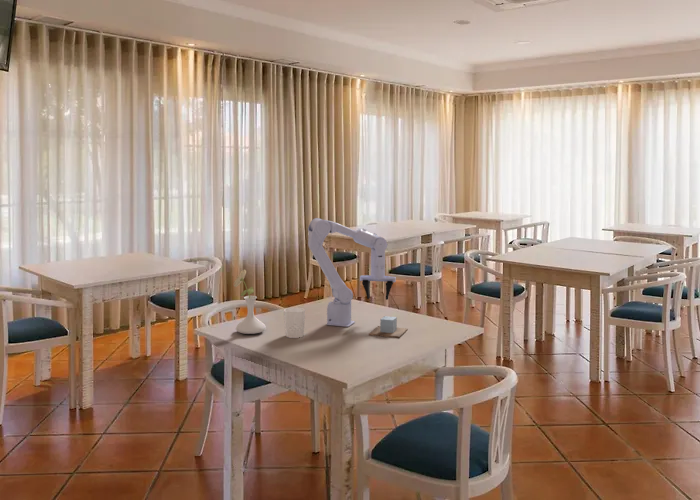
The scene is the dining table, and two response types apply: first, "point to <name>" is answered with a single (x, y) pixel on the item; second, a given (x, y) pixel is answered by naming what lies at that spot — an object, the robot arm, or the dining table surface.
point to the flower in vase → (250, 322)
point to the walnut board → (396, 334)
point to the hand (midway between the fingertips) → (377, 298)
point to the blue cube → (388, 324)
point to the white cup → (294, 322)
